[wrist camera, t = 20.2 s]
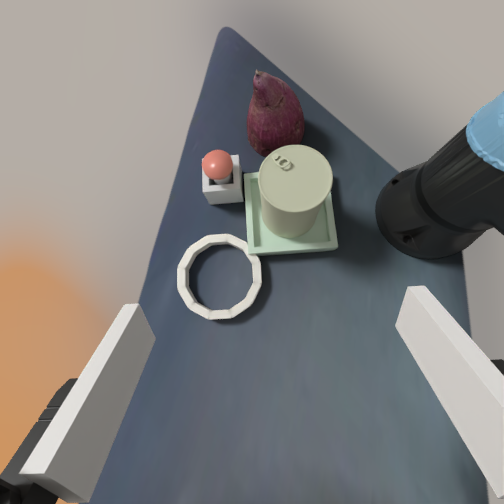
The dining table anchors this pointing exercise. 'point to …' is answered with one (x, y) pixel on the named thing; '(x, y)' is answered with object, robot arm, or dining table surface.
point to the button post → (225, 186)
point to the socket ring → (189, 259)
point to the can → (293, 189)
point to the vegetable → (273, 115)
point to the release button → (218, 167)
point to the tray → (271, 244)
